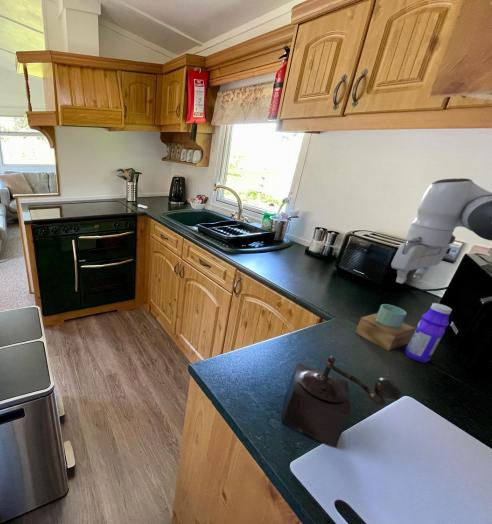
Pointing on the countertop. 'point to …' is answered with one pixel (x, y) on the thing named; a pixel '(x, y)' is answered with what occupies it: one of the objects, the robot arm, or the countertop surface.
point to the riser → (384, 333)
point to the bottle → (428, 333)
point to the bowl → (390, 315)
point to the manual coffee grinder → (326, 401)
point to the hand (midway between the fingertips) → (408, 280)
